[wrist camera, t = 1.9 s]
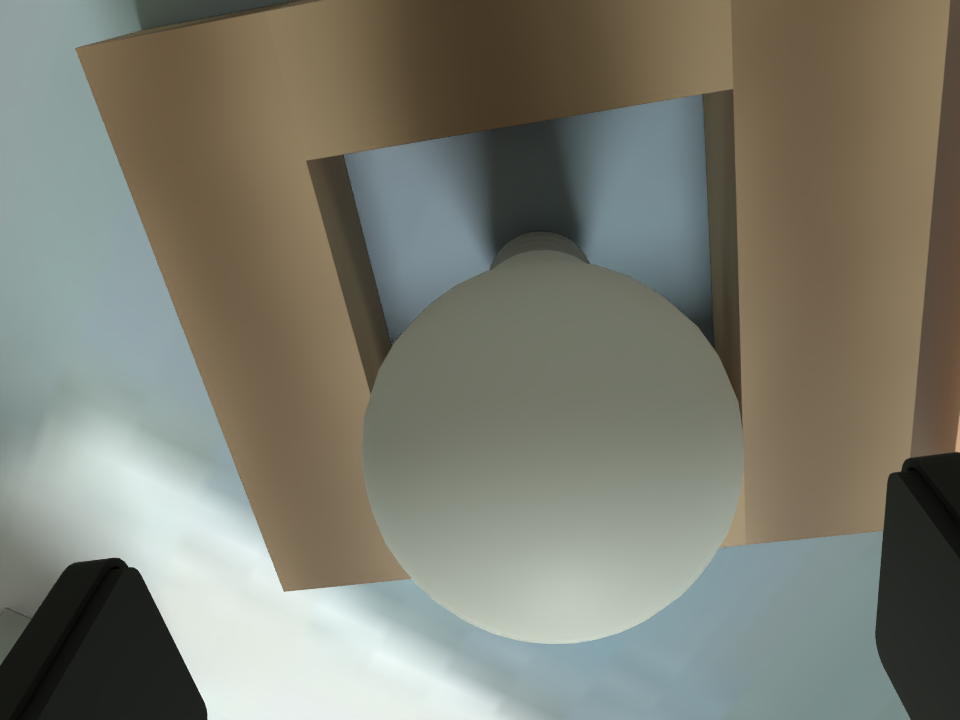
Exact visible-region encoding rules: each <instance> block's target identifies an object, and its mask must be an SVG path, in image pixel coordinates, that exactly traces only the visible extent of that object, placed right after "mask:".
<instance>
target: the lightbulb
mask: <svg viewBox="0 0 960 720" xmlns="http://www.w3.org/2000/svg"><path fill="white" fill-rule="evenodd" d="M744 456H745V453H744V439H743V430H742V423H741V416H740V410H739V403H738V400H737V398H736V395H735V393H734V390H733V388H732V385H731V383H730V381H729V378H728V376H727V373H726V371H725V369H724V367H723V365H722V362H721V360H720V358H719V356H718V354H717V353H716V351H715V350H714V348H713V347H712V346H711V344H710V343H709V342H708V340H707V339H706V337H705V336H704V335H703V333H702V332H701V331H700V329H699V328H698V327H697V326H696V325H695V324H694V323H693V322H692V321H691V320H690V319H688V318H687V317H686V316H685V315H684V314H683V313H682V312H680V311H679V310H678V309H677V308H676V307H675V306H674V305H673V304H671V303H670V302H669V301H668V300H666V299H665V298H664V297H663V296H661V295H660V294H659V293H658V292H656V291H654V290H652V289H650V288H649V287H647V286H645V285H643V284H642V283H640V282H638V281H636V280H635V279H633V278H631V277H629V276H627V275H624V274H621V273H618V272H615V271H612V270H609V269H606V268H603V267H600V266H597V265H592V264H590V263H589V261H588V260H587V257H586V255H585V254H584V253H583V251H582V250H581V249H580V247H579V246H577V245H576V244H575V243H574V242H573V241H572V240H570V239H568V238H566V237H565V236H563V235H560V234H556V233H553V232H546V231H537V232H530V233H526V234H522V235H520V236H518V237H516V238H514V239H512V240H511V241H509V242H508V243H507V244H505V245H504V246H503V247H502V249H501V250H500V251H499V252H498V253H497V255H496V257H495V258H494V260H493V263H492V264H491V267H490V270H489V271H486V272H484V273H482V274H480V275H478V276H475V277H473V278H471V279H469V280H467V281H464V282H462V283H460V284H458V285H456V286H455V287H453V288H452V289H450V290H449V291H448V292H446V293H445V294H443V295H442V296H441V297H439V298H438V299H437V300H435V301H434V302H432V303H431V304H430V305H429V306H428V307H427V308H426V309H425V310H424V311H423V312H422V313H421V314H420V315H419V316H418V317H417V318H416V319H415V320H414V321H413V323H412V324H411V325H410V326H409V327H408V328H407V329H406V330H405V331H404V332H403V333H402V334H401V336H400V337H399V338H398V339H397V340H396V341H395V343H394V344H393V346H392V348H391V349H390V351H389V353H388V355H387V356H386V358H385V360H384V362H383V363H382V365H381V367H380V368H379V371H378V374H377V377H376V380H375V383H374V386H373V389H372V392H371V396H370V399H369V402H368V405H367V409H366V412H365V415H364V424H363V440H362V462H363V472H364V478H365V484H366V489H367V495H368V499H369V502H370V506H371V509H372V512H373V515H374V518H375V520H376V523H377V525H378V527H379V530H380V532H381V534H382V537H383V539H384V542H385V544H386V545H387V547H388V548H389V549H390V551H391V552H392V554H393V555H394V557H395V558H396V559H397V561H398V562H399V564H400V565H401V566H402V568H403V569H404V570H405V571H406V573H407V574H408V575H409V576H410V577H411V578H412V580H413V581H414V582H415V583H416V584H417V585H418V586H419V587H420V588H421V589H422V590H423V591H424V592H426V593H427V594H428V595H429V596H430V597H431V598H432V599H433V600H434V601H435V602H437V603H438V604H440V605H441V606H443V607H445V608H446V609H448V610H449V611H451V612H452V613H454V614H455V615H457V616H458V617H460V618H462V619H463V620H465V621H467V622H468V623H470V624H472V625H475V626H477V627H479V628H481V629H484V630H486V631H488V632H490V633H493V634H496V635H500V636H503V637H507V638H511V639H514V640H518V641H526V642H534V643H542V644H565V643H578V642H584V641H590V640H596V639H601V638H604V637H607V636H610V635H613V634H616V633H620V632H623V631H625V630H627V629H629V628H631V627H633V626H635V625H637V624H639V623H641V622H643V621H645V620H647V619H649V618H650V617H652V616H653V615H655V614H656V613H658V612H659V611H660V610H662V609H663V608H664V607H666V606H667V605H669V604H670V603H671V602H673V601H674V600H676V599H677V598H678V597H680V596H681V595H682V594H683V593H684V592H685V591H686V590H687V589H688V588H689V587H690V586H691V585H692V584H693V583H694V581H695V580H696V579H697V578H698V577H699V576H700V575H701V574H702V572H703V571H704V570H705V568H706V567H707V565H708V564H709V563H710V561H711V560H712V558H713V557H714V555H715V553H716V552H717V550H718V549H719V547H720V545H721V544H722V542H723V541H724V539H725V537H726V536H727V534H728V531H729V528H730V526H731V523H732V520H733V517H734V514H735V511H736V508H737V505H738V500H739V495H740V491H741V486H742V477H743V466H744Z"/></svg>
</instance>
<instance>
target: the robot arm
mask: <svg viewBox="0 0 960 720" xmlns="http://www.w3.org/2000/svg"><path fill="white" fill-rule="evenodd" d="M875 638H876V645H877V649H878V653H879V656H880V659H881V662H882V664H883V667H884V669H885V671H886V672H887V674H888V676H889V678H890V680H891V682H892V684H893V686H894V688H895V690H896V692H897V694H898V696H899V697H900V699H901V701H902V703H903V705H904V707H905V709H906V711H907V713H908V715H909V717H910V719H911V720H960V453H959V452H952V453H944V454H936V455H928V456H920V457H912V458H908V459H906V460H905V461H904V463H903V465H902V469H901V472H893V473H891V474H890V475H889V477H888V481H887V491H886V504H885V517H884V529H883V542H882V555H881V567H880V580H879V593H878V606H877V618H876V631H875ZM0 720H207V709H206V706H205V703H204V701H203V699H202V697H201V695H200V693H199V691H198V689H197V687H196V685H195V683H194V681H193V679H192V677H191V675H190V673H189V671H188V669H187V667H186V665H185V663H184V661H183V658H182V656H181V654H180V652H179V650H178V648H177V646H176V644H175V642H174V640H173V638H172V636H171V634H170V632H169V630H168V628H167V626H166V624H165V622H164V620H163V618H162V616H161V614H160V612H159V610H158V608H157V606H156V604H155V602H154V600H153V598H152V596H151V594H150V592H149V590H148V588H147V586H146V584H145V582H144V580H143V578H142V576H141V574H140V573H139V571H138V570H137V569H135V568H132V567H128V566H127V564H126V563H125V562H124V561H123V560H121V559H120V558H109V559H101V560H93V561H85V562H77V563H73V564H71V565H69V566H68V567H67V568H66V569H65V570H64V572H63V573H62V574H61V576H60V577H59V579H58V580H57V582H56V583H55V585H54V586H53V588H52V589H51V591H50V592H49V594H48V595H47V597H46V598H45V600H44V601H43V603H42V604H41V606H40V607H39V609H38V610H37V612H36V613H35V615H34V616H33V618H32V619H31V621H30V622H29V624H28V625H27V626H26V628H25V629H24V631H23V632H22V634H21V635H20V637H19V638H18V640H17V641H16V643H15V644H14V646H13V647H12V649H11V650H10V652H9V653H8V655H7V656H6V658H5V659H4V661H3V662H2V664H1V665H0Z"/></svg>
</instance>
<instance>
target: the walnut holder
mask: <svg viewBox="0 0 960 720" xmlns="http://www.w3.org/2000/svg"><path fill="white" fill-rule="evenodd" d="M949 11H950V0H296V1H291V2H286V3H281V4H276V5H271V6H266V7H260V8H255V9H250V10H245V11H240V12H235V13H229V14H224V15H219V16H214V17H209V18H204V19H198V20H193V21H188V22H183V23H178V24H173V25H167V26H162V27H157V28H152V29H147V30H142V31H138V32H134V33H130V34H126V35H123V36H119V37H115V38H111V39H108V40H104V41H100V42H96V43H93V44H89V45H85V46H82V47H78V48H75V49H76V51H77V54H78V57H79V59H80V62H81V64H82V67H83V70H84V72H85V75H86V78H87V80H88V83H89V85H90V88H91V91H92V93H93V96H94V98H95V101H96V104H97V106H98V109H99V111H100V114H101V117H102V119H103V122H104V124H105V127H106V130H107V132H108V135H109V137H110V140H111V143H112V145H113V148H114V150H115V153H116V156H117V158H118V161H119V163H120V166H121V169H122V171H123V174H124V176H125V179H126V182H127V184H128V187H129V190H130V192H131V195H132V197H133V200H134V203H135V205H136V208H137V210H138V213H139V216H140V218H141V221H142V223H143V226H144V229H145V231H146V234H147V236H148V239H149V242H150V244H151V247H152V249H153V252H154V255H155V257H156V260H157V262H158V265H159V268H160V270H161V273H162V275H163V278H164V281H165V283H166V286H167V288H168V291H169V294H170V296H171V299H172V302H173V304H174V307H175V309H176V312H177V315H178V317H179V320H180V322H181V325H182V328H183V330H184V333H185V335H186V338H187V341H188V343H189V346H190V348H191V351H192V354H193V356H194V359H195V361H196V364H197V367H198V369H199V372H200V374H201V377H202V380H203V382H204V385H205V387H206V390H207V393H208V395H209V398H210V401H211V403H212V406H213V408H214V411H215V414H216V416H217V419H218V421H219V424H220V427H221V429H222V432H223V434H224V437H225V440H226V442H227V445H228V447H229V450H230V453H231V455H232V458H233V460H234V463H235V466H236V468H237V471H238V473H239V476H240V479H241V481H242V484H243V486H244V489H245V492H246V494H247V497H248V499H249V502H250V505H251V507H252V510H253V513H254V515H255V518H256V520H257V523H258V526H259V528H260V531H261V533H262V536H263V539H264V541H265V544H266V546H267V549H268V552H269V554H270V557H271V559H272V562H273V565H274V567H275V570H276V572H277V575H278V578H279V580H280V583H281V585H282V588H283V591H284V592H285V591H295V590H305V589H315V588H325V587H335V586H345V585H354V584H364V583H374V582H384V581H394V580H404V579H412V578H411V577H410V576H409V575H408V574H407V573H406V571H405V570H404V569H403V568H402V566H401V565H400V564H399V562H398V561H397V559H396V558H395V557H394V555H393V554H392V552H391V551H390V549H389V548H388V547H387V545H386V544H385V542H384V539H383V537H382V534H381V532H380V530H379V527H378V525H377V523H376V520H375V518H374V515H373V512H372V509H371V506H370V502H369V499H368V495H367V489H366V484H365V478H364V472H363V462H362V440H363V424H364V415H365V412H366V409H367V405H368V402H369V399H370V396H371V392H372V389H373V386H374V383H375V380H376V377H377V374H378V371H379V368H380V367H381V365H382V363H383V362H384V360H385V358H386V356H387V355H388V353H389V351H390V349H391V348H392V346H391V342H390V339H389V335H388V331H387V327H386V323H385V319H384V315H383V311H382V307H381V303H380V299H379V295H378V291H377V287H376V283H375V279H374V275H373V271H372V267H371V264H370V260H369V256H368V252H367V248H366V244H365V240H364V236H363V232H362V228H361V224H360V220H359V216H358V212H357V208H356V204H355V200H354V196H353V192H352V189H351V185H350V181H349V177H348V173H347V169H346V165H345V161H344V157H343V154H349V153H355V152H361V151H367V150H373V149H379V148H385V147H391V146H397V145H403V144H409V143H414V142H420V141H426V140H432V139H438V138H444V137H450V136H456V135H462V134H468V133H474V132H480V131H486V130H492V129H498V128H504V127H510V126H515V125H521V124H527V123H533V122H539V121H545V120H551V119H557V118H563V117H569V116H575V115H581V114H587V113H593V112H599V111H605V110H610V109H616V108H622V107H628V106H634V105H640V104H646V103H652V102H658V101H664V100H670V99H676V98H682V97H688V96H694V95H700V94H703V105H704V127H705V150H706V172H707V194H708V217H709V239H710V262H711V284H712V307H713V329H714V350H715V351H716V353H717V354H718V356H719V358H720V360H721V362H722V365H723V367H724V369H725V371H726V373H727V376H728V378H729V381H730V383H731V385H732V388H733V390H734V393H735V395H736V398H737V400H738V403H739V410H740V416H741V423H742V430H743V439H744V453H745V456H744V466H743V477H742V486H741V491H740V495H739V500H738V505H737V508H736V511H735V514H734V517H733V520H732V523H731V526H730V528H729V531H728V534H727V536H726V537H725V539H724V541H723V542H722V544H721V545H720V547H729V546H739V545H749V544H758V543H768V542H778V541H788V540H798V539H808V538H818V537H827V536H837V535H847V534H857V533H867V532H877V531H883V529H884V517H885V504H886V491H887V481H888V477H889V475H890V474H891V473H893V472H901V469H902V465H903V463H904V461H905V460H906V459H908V458H910V452H911V441H912V430H913V418H914V407H915V396H916V384H917V373H918V362H919V351H920V339H921V328H922V317H923V305H924V294H925V283H926V271H927V260H928V249H929V237H930V226H931V215H932V204H933V192H934V181H935V170H936V158H937V147H938V136H939V124H940V113H941V102H942V90H943V79H944V68H945V57H946V45H947V34H948V23H949Z"/></svg>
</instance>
